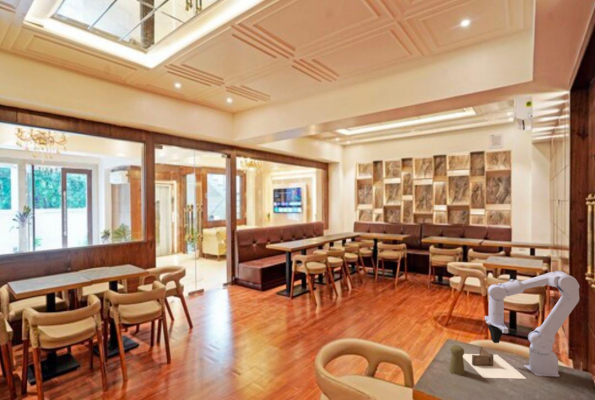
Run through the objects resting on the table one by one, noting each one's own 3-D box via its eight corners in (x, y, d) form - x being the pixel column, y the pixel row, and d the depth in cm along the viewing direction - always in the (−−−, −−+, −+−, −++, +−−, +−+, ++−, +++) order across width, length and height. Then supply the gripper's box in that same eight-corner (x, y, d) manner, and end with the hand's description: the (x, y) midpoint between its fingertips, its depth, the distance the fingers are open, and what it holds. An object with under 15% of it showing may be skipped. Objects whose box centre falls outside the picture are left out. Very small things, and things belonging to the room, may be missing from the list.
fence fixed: (482, 355, 145) (482, 345, 145) (494, 366, 136) (494, 355, 136) (478, 355, 145) (478, 345, 145) (490, 366, 136) (490, 355, 136)
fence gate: (489, 365, 136) (489, 356, 136) (473, 365, 136) (473, 356, 136) (487, 363, 138) (487, 354, 138) (471, 363, 138) (471, 354, 138)
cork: (461, 368, 135) (461, 343, 135) (467, 376, 129) (467, 350, 129) (446, 368, 135) (447, 342, 135) (452, 375, 129) (452, 349, 129)
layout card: (497, 355, 146) (497, 354, 146) (526, 379, 127) (526, 378, 127) (459, 354, 147) (459, 353, 147) (483, 378, 127) (483, 377, 127)
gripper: (478, 306, 147) (478, 335, 147) (496, 318, 132) (495, 349, 132) (493, 306, 146) (493, 335, 147) (513, 318, 132) (513, 350, 132)
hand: (495, 342), depth 139 cm, fingers closed
